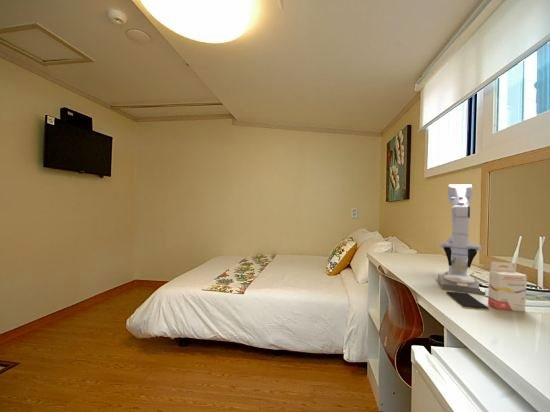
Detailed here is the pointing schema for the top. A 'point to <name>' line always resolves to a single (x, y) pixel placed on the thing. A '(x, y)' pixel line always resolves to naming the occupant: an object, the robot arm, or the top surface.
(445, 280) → the kitchen scale
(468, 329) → the top surface
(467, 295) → the smartphone
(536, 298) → the top surface
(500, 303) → the ink cartridge box
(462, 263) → the gray bumpy ball
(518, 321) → the top surface
